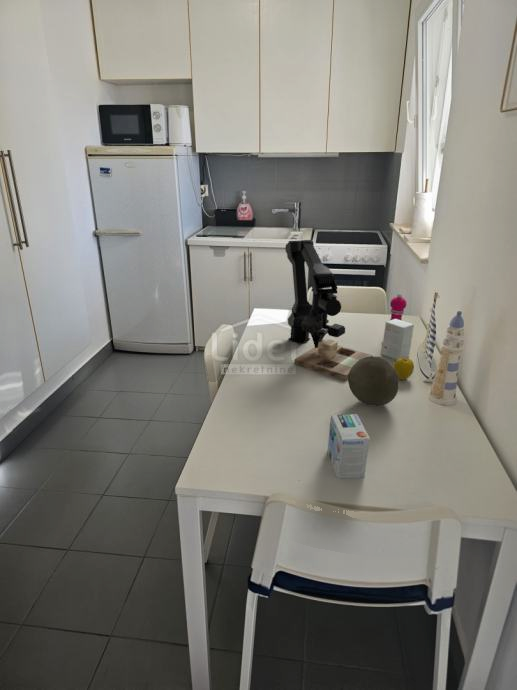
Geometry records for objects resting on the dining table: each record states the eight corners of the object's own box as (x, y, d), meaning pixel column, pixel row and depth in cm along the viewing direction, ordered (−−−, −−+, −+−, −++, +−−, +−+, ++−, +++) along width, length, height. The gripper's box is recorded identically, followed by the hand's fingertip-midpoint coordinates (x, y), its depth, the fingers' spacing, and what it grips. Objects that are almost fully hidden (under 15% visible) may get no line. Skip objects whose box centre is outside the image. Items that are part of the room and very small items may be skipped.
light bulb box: (326, 451, 113) (330, 413, 108) (352, 450, 113) (357, 413, 109) (336, 479, 103) (341, 439, 99) (365, 478, 103) (371, 438, 99)
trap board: (294, 364, 159) (294, 359, 158) (323, 346, 175) (324, 341, 174) (345, 380, 148) (346, 375, 147) (371, 360, 164) (372, 355, 163)
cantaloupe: (363, 388, 143) (368, 345, 138) (403, 405, 134) (411, 360, 128) (336, 404, 134) (341, 358, 128) (378, 423, 125) (385, 374, 119)
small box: (409, 357, 167) (414, 324, 162) (399, 361, 163) (404, 327, 158) (390, 350, 173) (395, 318, 168) (380, 354, 169) (385, 321, 164)
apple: (389, 380, 149) (393, 358, 146) (394, 372, 155) (397, 351, 151) (409, 384, 147) (413, 362, 144) (413, 377, 152) (417, 355, 149)
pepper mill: (404, 340, 182) (411, 292, 174) (399, 346, 176) (406, 297, 169) (386, 336, 186) (393, 289, 178) (381, 342, 180) (387, 294, 172)
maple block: (317, 355, 162) (318, 342, 160) (324, 350, 166) (325, 338, 164) (329, 358, 159) (331, 346, 157) (336, 354, 163) (337, 341, 161)
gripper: (285, 306, 157) (282, 347, 163) (332, 318, 147) (328, 361, 153) (302, 299, 165) (299, 338, 172) (348, 310, 155) (343, 351, 161)
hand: (316, 347), depth 164 cm, fingers closed
